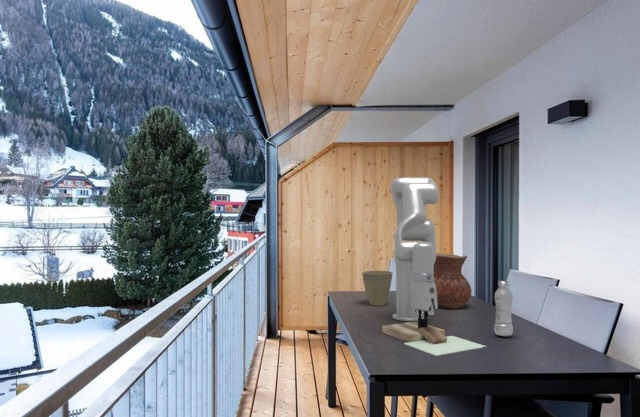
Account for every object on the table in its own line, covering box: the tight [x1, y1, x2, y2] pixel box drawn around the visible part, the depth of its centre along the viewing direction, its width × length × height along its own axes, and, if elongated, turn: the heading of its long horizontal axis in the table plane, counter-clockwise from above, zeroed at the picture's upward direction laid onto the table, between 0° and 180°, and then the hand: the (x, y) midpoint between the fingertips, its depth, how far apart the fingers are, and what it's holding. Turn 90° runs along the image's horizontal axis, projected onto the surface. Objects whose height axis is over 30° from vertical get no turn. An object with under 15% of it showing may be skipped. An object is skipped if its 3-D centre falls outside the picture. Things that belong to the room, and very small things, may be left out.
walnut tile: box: [418, 325, 447, 344], centre depth 167 cm, size 6×8×2 cm
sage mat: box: [403, 335, 487, 357], centre depth 162 cm, size 22×16×1 cm
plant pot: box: [361, 270, 393, 307], centre depth 236 cm, size 15×15×16 cm
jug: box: [434, 253, 472, 309], centre depth 233 cm, size 22×21×25 cm
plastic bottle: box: [493, 280, 514, 338], centre depth 175 cm, size 6×7×20 cm
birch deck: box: [381, 321, 446, 343], centre depth 177 cm, size 16×16×2 cm
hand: (422, 329), depth 172 cm, fingers closed
